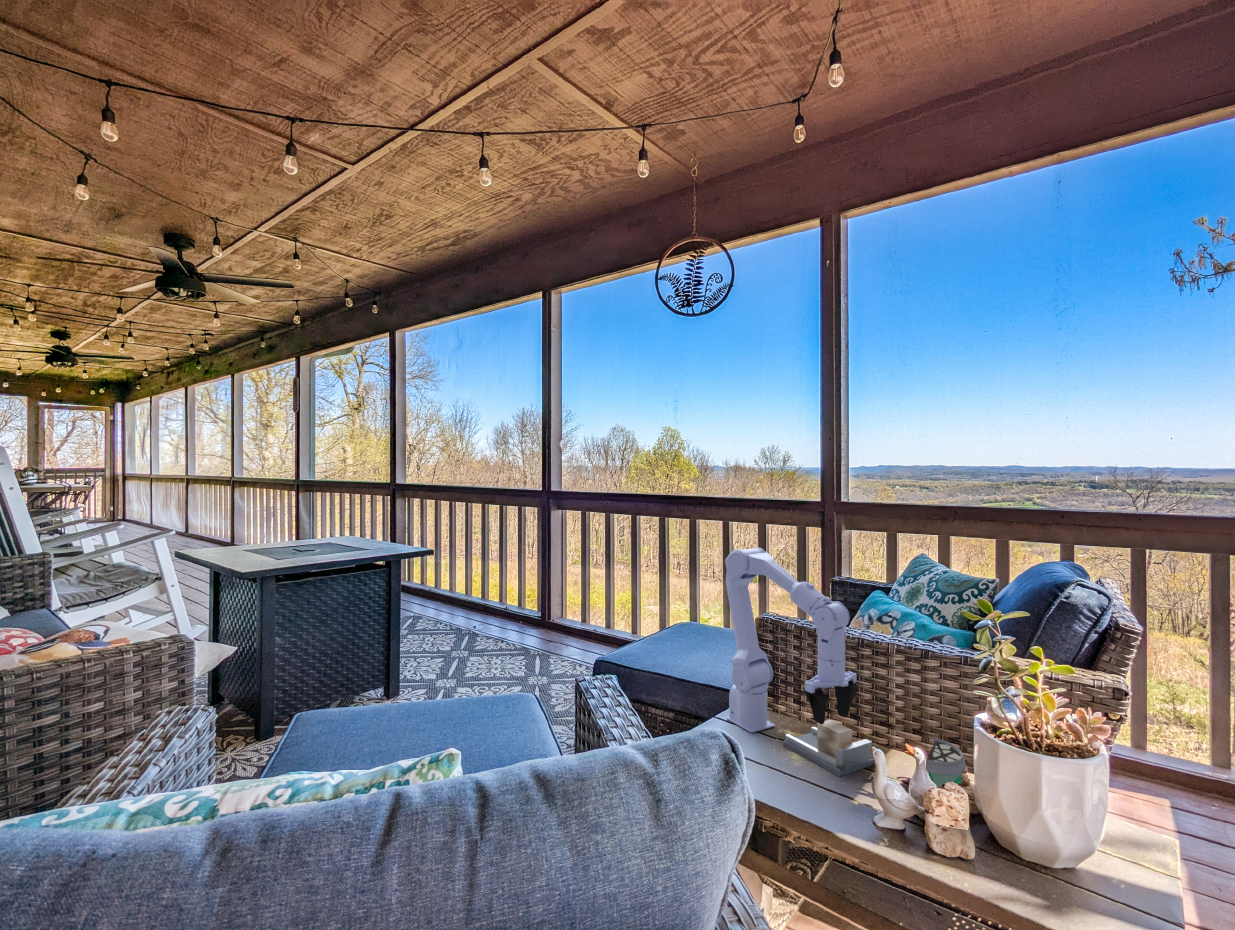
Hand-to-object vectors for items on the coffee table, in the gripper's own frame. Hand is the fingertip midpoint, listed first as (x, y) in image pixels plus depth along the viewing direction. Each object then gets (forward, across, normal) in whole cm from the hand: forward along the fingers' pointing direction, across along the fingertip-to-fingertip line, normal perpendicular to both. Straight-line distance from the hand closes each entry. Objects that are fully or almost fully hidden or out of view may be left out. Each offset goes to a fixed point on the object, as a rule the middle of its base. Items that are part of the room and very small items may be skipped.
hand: (831, 719), depth 127 cm
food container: (+9, +4, -24) cm, 26 cm away
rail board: (+8, 0, +1) cm, 9 cm away
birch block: (+7, 0, -1) cm, 7 cm away
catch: (+7, 0, -4) cm, 8 cm away
